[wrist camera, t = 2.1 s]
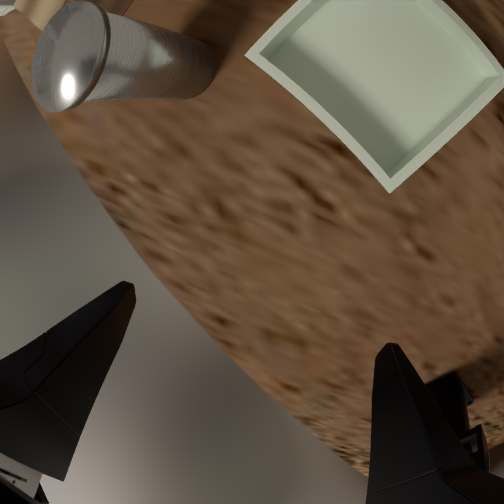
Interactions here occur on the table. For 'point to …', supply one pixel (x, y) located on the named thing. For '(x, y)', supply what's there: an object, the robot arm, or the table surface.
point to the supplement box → (7, 3)
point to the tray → (382, 75)
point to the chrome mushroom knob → (114, 60)
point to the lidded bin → (48, 3)
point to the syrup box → (5, 11)
